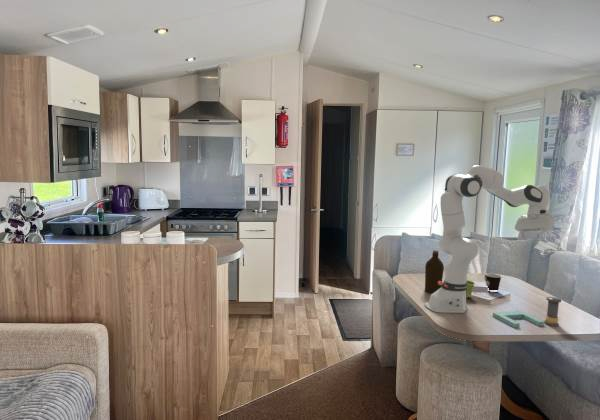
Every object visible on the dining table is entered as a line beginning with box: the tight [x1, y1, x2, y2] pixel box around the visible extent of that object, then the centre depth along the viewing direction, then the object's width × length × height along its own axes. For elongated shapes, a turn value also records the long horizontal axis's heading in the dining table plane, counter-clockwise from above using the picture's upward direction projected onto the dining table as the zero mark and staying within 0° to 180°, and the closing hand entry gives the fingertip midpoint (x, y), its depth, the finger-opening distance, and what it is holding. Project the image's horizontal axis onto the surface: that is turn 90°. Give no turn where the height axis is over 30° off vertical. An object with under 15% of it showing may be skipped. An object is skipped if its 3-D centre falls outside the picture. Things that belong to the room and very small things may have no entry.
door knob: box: [543, 296, 562, 328], centre depth 227 cm, size 6×6×13 cm
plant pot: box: [466, 280, 476, 299], centre depth 268 cm, size 9×9×9 cm
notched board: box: [492, 310, 545, 329], centre depth 231 cm, size 17×16×2 cm
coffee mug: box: [484, 273, 502, 291], centre depth 282 cm, size 12×9×10 cm
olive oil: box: [424, 249, 445, 294], centre depth 275 cm, size 11×11×25 cm
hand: (530, 237), depth 244 cm, fingers open, 8 cm apart
